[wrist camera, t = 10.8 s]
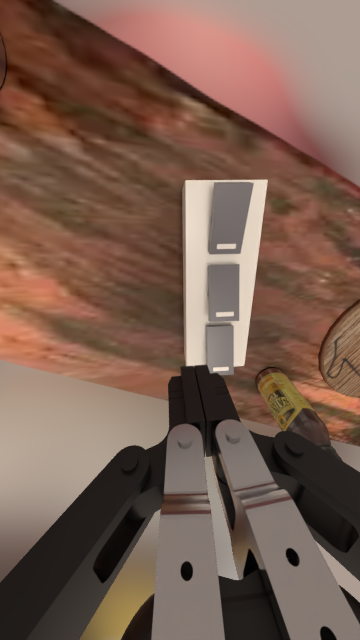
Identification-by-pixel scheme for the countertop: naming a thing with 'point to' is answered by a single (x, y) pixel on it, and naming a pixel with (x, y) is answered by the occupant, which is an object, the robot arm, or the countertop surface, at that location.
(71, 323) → the countertop surface
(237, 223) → the plate
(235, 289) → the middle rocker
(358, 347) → the trivet
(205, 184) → the switch console
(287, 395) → the sauce bottle
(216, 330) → the far rocker
